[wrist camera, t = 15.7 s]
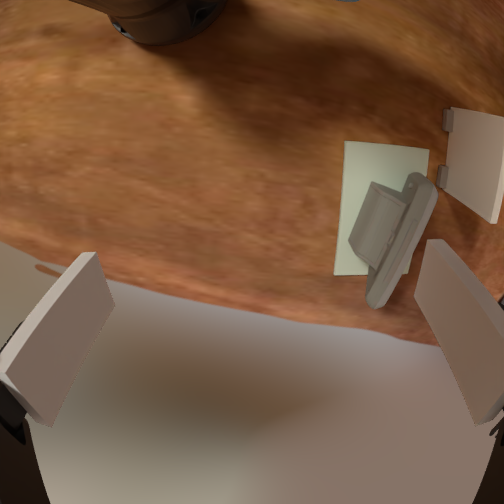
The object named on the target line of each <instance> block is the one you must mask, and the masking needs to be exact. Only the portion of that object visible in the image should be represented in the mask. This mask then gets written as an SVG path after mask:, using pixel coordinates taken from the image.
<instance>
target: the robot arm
mask: <svg viewBox="0 0 504 504" xmlns="http://www.w3.org/2000/svg"><path fill="white" fill-rule="evenodd" d="M69 1H72V2H75V3H78V4H81V5H84V6H87V7H89V8H92V9H95V10H98V11H100V12H103V13H105V14H107V15H108V17H109V19H110V21H111V23H112V24H113V26H114V27H115V28H116V29H117V30H118V31H119V32H120V33H121V34H122V35H124V36H125V37H127V38H129V39H131V40H134V41H136V42H139V43H142V44H146V45H154V46H161V45H170V44H175V43H178V42H182V41H184V40H187V39H189V38H191V37H193V36H195V35H197V34H199V33H200V32H202V31H203V30H204V29H206V28H207V27H208V26H209V25H210V24H211V23H213V22H214V20H215V19H216V18H217V17H218V16H219V14H220V13H221V12H222V10H223V8H224V6H225V4H226V2H227V0H69ZM338 1H344V2H356V1H359V0H338ZM414 298H415V300H416V302H417V304H418V305H419V307H420V309H421V311H422V313H423V314H424V316H425V318H426V320H427V322H428V324H429V326H430V327H431V329H432V331H433V333H434V335H435V337H436V339H437V341H438V343H439V345H440V347H441V349H442V351H443V353H444V355H445V357H446V359H447V361H448V363H449V365H450V368H451V370H452V372H453V374H454V376H455V379H456V381H457V383H458V385H459V388H460V390H461V392H462V394H463V396H464V399H465V402H466V404H467V406H468V409H469V411H470V414H471V416H472V419H473V421H474V424H475V426H478V425H480V424H483V423H486V422H488V421H491V420H493V419H494V418H495V417H496V415H497V414H498V413H499V412H500V411H501V409H503V411H504V305H503V304H501V303H497V302H496V300H495V299H494V298H493V296H492V295H491V294H490V293H489V291H488V290H487V289H486V288H485V286H484V285H483V284H482V283H481V282H480V280H479V279H478V278H477V277H476V276H475V274H474V273H473V272H472V271H471V270H470V269H469V267H468V266H467V265H466V264H465V263H464V262H463V261H462V259H461V258H460V257H459V256H458V255H457V254H456V253H455V252H454V251H453V250H452V248H451V247H450V246H449V245H448V244H447V243H446V242H445V241H444V240H443V239H427V243H426V248H425V252H424V257H423V261H422V266H421V270H420V274H419V278H418V282H417V286H416V290H415V293H414ZM114 306H115V303H114V301H113V298H112V295H111V293H110V290H109V287H108V285H107V282H106V279H105V276H104V273H103V270H102V267H101V264H100V261H99V258H98V255H97V252H84V253H81V254H80V255H79V257H78V258H77V259H76V260H75V261H74V262H73V263H72V264H71V265H70V266H69V268H68V269H67V270H66V271H65V272H64V273H63V274H62V275H61V277H60V278H59V279H58V280H57V281H56V282H55V284H54V285H53V286H52V287H51V289H49V291H48V292H47V293H46V294H45V295H44V297H43V298H42V299H41V300H40V302H39V303H38V304H37V305H36V307H35V308H34V309H33V310H32V312H31V313H30V314H29V316H28V317H27V318H26V319H25V320H24V321H23V322H21V323H20V324H19V325H18V327H17V328H16V329H15V331H14V332H13V334H12V336H10V338H9V339H8V340H7V343H5V344H4V346H3V347H2V349H1V350H0V504H50V501H49V498H48V496H47V493H46V489H45V486H44V483H43V480H42V477H41V473H40V470H39V466H38V462H37V459H36V455H35V451H34V446H33V442H32V438H31V433H30V428H29V424H28V422H27V420H26V419H25V418H24V417H25V415H26V413H28V414H29V415H30V416H31V417H32V418H33V419H34V420H35V421H36V422H38V423H41V424H43V425H46V426H48V427H52V426H53V424H54V421H55V419H56V417H57V415H58V413H59V410H60V408H61V406H62V404H63V402H64V400H65V398H66V396H67V394H68V392H69V390H70V388H71V386H72V384H73V381H74V380H75V378H76V376H77V374H78V372H79V370H80V368H81V366H82V364H83V362H84V360H85V358H86V356H87V355H88V353H89V351H90V349H91V347H92V345H93V343H94V342H95V340H96V338H97V336H98V334H99V333H100V331H101V329H102V327H103V326H104V324H105V322H106V320H107V319H108V317H109V315H110V313H111V312H112V310H113V308H114ZM498 429H499V430H498ZM497 430H498V434H497V435H496V436H495V438H496V441H495V444H494V447H493V451H492V454H491V457H490V460H489V463H488V466H487V468H486V471H485V474H484V477H483V479H482V482H481V484H480V487H479V489H478V492H477V494H476V497H475V499H474V501H473V503H472V504H504V417H503V418H502V419H501V420H500V422H499V423H498V424H497V425H496V426H495V427H494V428H493V429H492V430H491V432H490V434H489V435H490V436H492V435H493V434H494V433H495V432H496V431H497Z"/></svg>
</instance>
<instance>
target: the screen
mask: <svg viewBox="0 0 504 504" xmlns="http://www.w3.org/2000/svg"><path fill="white" fill-rule="evenodd" d="M442 130H445V131H449V137H448V148H447V157H446V166H444V165H439V167H438V175H437V182H436V186H438V187H440V188H442V190H444V191H445V192H447V193H448V194H450V195H451V196H453V197H454V198H456V199H457V200H459V201H460V202H462V203H463V204H464V205H466V206H467V207H469V208H470V209H471V210H473V211H474V212H475V213H477V214H478V215H480V216H481V217H482V218H484V219H485V220H486V221H487V222H489V223H492V224H497V220H498V216H499V212H500V207H501V203H502V198H503V193H504V117H501V116H497V115H492V114H488V113H483V112H478V111H473V110H467V109H461V108H455V107H450V110H448V109H443V126H442Z"/></svg>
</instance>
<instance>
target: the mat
mask: <svg viewBox="0 0 504 504" xmlns="http://www.w3.org/2000/svg"><path fill="white" fill-rule="evenodd" d="M428 160H429V149H425V148H417V147H409V146H401V145H392V144H382V143H371V142H358V141H344V160H343V177H342V192H341V204H340V216H339V227H338V237H337V246H336V255H335V264H334V272H333V274H334V275H368V268H369V264H368V263H367V262H366V261H364V260H363V259H361V258H359V257H357V256H356V255H355V253H354V252H353V250H352V248H351V246H350V244H349V242H348V238H349V236H350V234H351V231H352V229H353V226H354V224H355V221H356V219H357V217H358V214H359V212H360V209H361V207H362V204H363V202H364V199H365V196H366V194H367V191H368V189H369V186H370V183H371V181H373V182H376V183H378V184H381V185H384V186H386V187H389V188H391V189H394V190H397V191H399V192H402V189H403V187H404V184H405V182H406V179H407V177H408V175H409V174H410V173H413V172H419V173H421V174H423V175H424V176H425V177H426V176H427V168H428ZM411 258H412V256H411ZM411 258H410V260H409V262H408V264H407V266H406V268H405V270H404V271H403V273H402V274H408V271H409V267H410V262H411Z"/></svg>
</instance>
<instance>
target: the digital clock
mask: <svg viewBox="0 0 504 504" xmlns="http://www.w3.org/2000/svg"><path fill="white" fill-rule="evenodd" d="M437 199H438V192H437V190H436V188H435V186H434V184H433V183H432V182H431V181H430V180H429V179H427V178H426V177H425V176H424V175H423V174H421V173H419V172H413V173H410V174H409V175H408V177H407V179H406V182H405V184H404V187H403V189H402V192H399V191H397V190H394V189H391V188H389V187H386V186H384V185H381V184H378V183H376V182H373V181H371V183H370V186H369V189H368V191H367V194H366V196H365V199H364V202H363V204H362V207H361V209H360V212H359V214H358V217H357V219H356V221H355V224H354V226H353V229H352V231H351V234H350V236H349V238H348V242H349V244H350V246H351V248H352V250H353V252H354V253H355V255H356V256H357V257H359V258H361V259H363V260H364V261H366V262H367V263H368V264H369V268H368V277H367V286H366V295H365V299H366V301H367V304H368V305H369V306H370V307H371V308H372V309H377V308H380V307H383V306H384V305H385V304H386V302H387V300H388V299H389V297H390V295H391V293H392V292H393V290H394V288H395V286H396V284H397V283H398V281H399V279H400V277H401V275H402V273H403V271H404V270H405V268H406V266H407V264H408V262H409V260H410V258H411V256H412V254H413V252H414V250H415V248H416V246H417V244H418V242H419V240H420V238H421V236H422V233H423V231H424V229H425V227H426V225H427V223H428V220H429V218H430V216H431V214H432V211H433V209H434V207H435V204H436V202H437Z"/></svg>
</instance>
